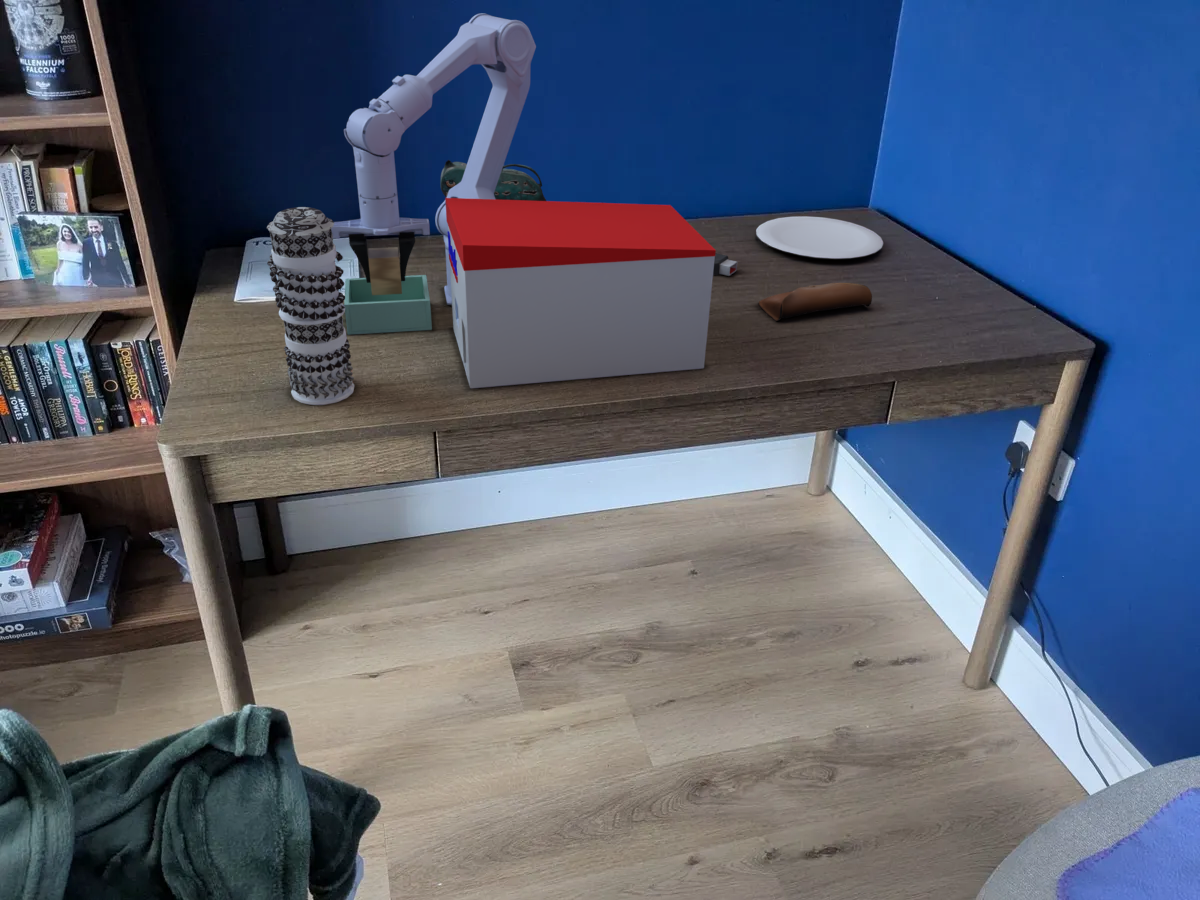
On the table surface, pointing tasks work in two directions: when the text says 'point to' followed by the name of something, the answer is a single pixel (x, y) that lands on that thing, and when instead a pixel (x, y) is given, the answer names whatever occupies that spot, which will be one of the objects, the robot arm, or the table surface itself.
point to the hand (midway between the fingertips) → (385, 279)
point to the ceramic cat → (507, 187)
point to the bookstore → (575, 290)
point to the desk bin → (387, 307)
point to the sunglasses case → (816, 299)
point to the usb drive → (724, 265)
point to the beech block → (384, 271)
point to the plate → (819, 238)
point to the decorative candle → (311, 305)
